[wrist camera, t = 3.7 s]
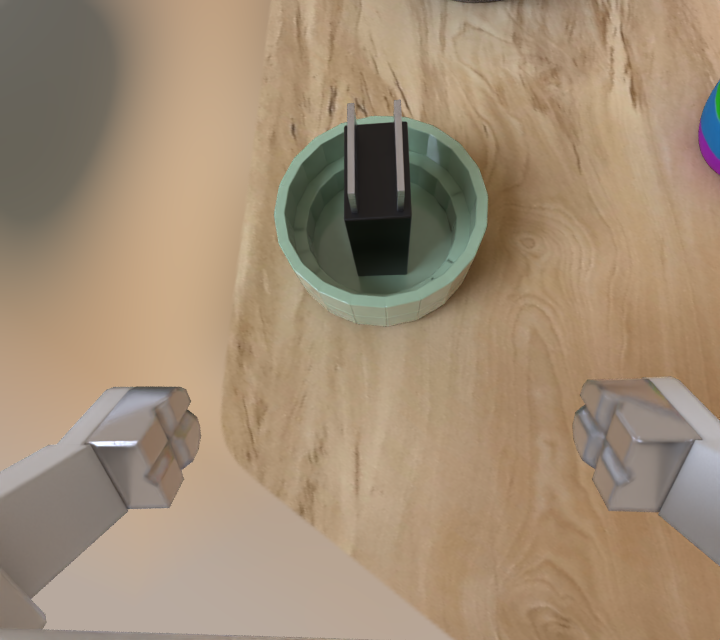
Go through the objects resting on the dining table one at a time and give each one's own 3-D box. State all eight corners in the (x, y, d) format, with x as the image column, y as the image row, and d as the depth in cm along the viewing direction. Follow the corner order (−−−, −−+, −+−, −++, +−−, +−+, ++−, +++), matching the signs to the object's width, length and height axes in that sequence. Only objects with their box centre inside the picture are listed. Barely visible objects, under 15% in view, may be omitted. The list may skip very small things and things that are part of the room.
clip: (407, 275, 24) (413, 196, 16) (357, 276, 25) (338, 200, 16) (404, 200, 26) (408, 92, 17) (357, 203, 26) (339, 97, 18)
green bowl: (467, 336, 24) (484, 316, 19) (282, 319, 25) (258, 297, 21) (475, 169, 26) (491, 119, 22) (308, 161, 28) (292, 112, 23)
